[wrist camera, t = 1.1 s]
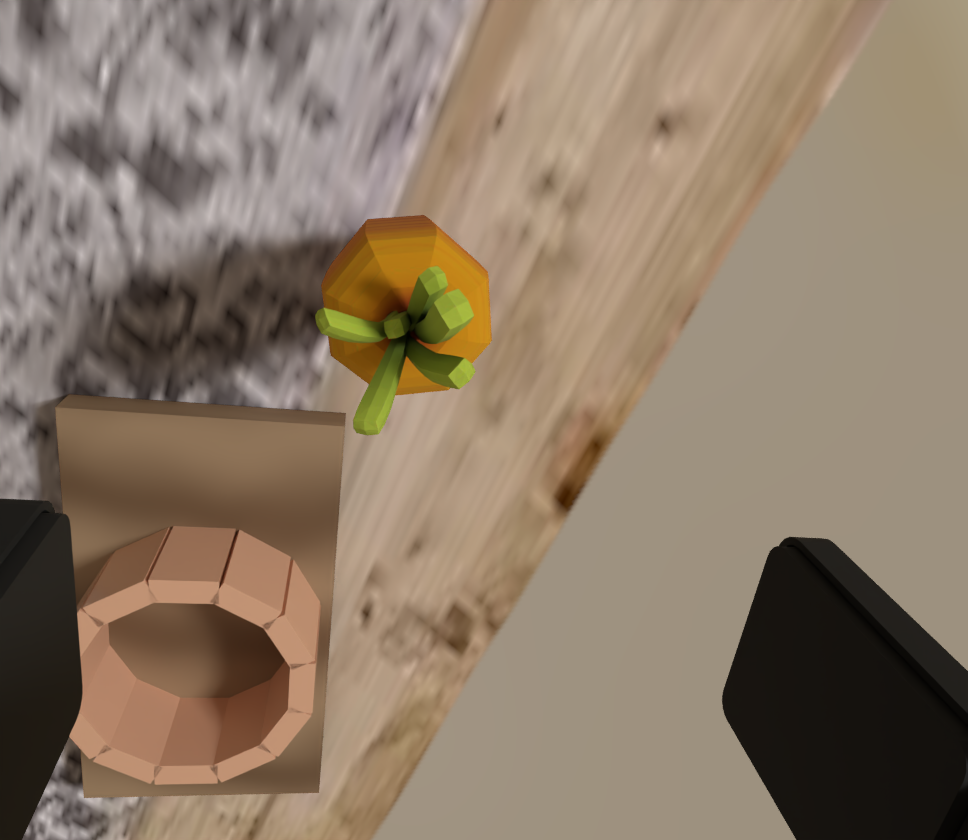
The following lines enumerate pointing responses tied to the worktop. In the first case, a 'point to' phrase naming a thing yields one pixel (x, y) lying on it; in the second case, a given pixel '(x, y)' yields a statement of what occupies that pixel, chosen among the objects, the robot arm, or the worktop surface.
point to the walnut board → (214, 504)
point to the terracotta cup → (195, 721)
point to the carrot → (404, 313)
